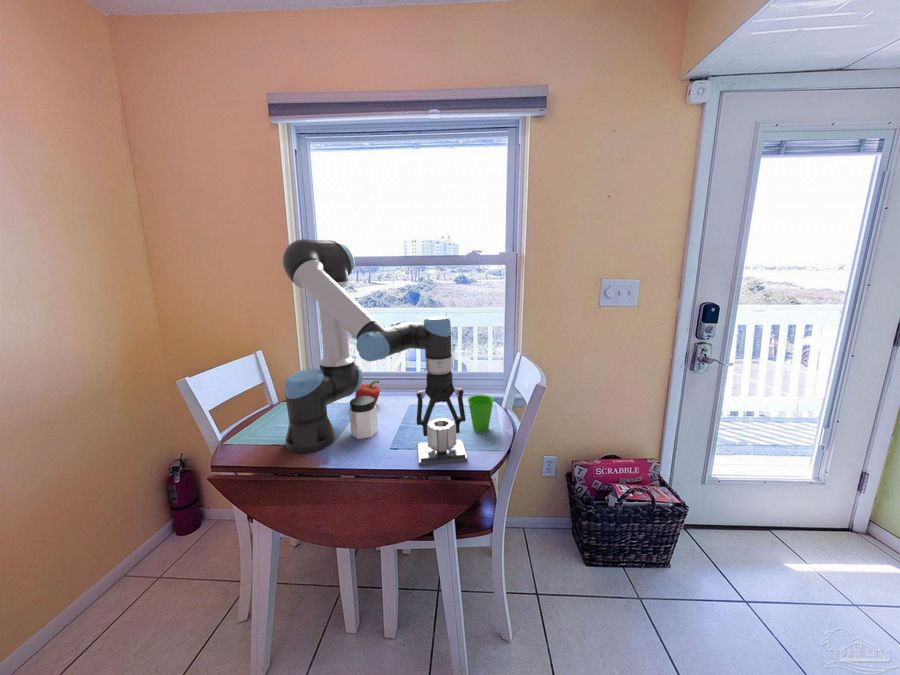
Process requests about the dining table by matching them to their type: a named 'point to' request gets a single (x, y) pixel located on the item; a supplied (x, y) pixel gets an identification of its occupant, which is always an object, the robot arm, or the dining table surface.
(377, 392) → the vegetable
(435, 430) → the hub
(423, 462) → the shaft block
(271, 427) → the dining table surface
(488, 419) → the cup
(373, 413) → the jar
